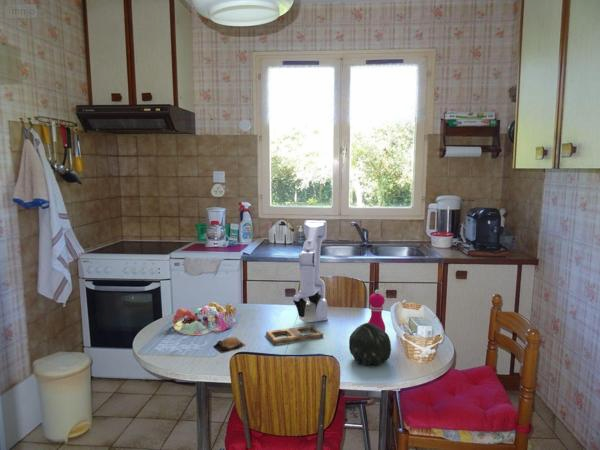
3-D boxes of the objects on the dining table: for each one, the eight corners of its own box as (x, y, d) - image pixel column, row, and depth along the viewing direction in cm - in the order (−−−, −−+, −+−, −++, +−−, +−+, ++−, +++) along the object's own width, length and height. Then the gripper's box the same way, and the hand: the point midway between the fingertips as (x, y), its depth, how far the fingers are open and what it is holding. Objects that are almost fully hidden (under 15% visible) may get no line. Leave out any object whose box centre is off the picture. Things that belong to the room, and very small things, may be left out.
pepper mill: (387, 337, 172) (388, 288, 169) (382, 344, 165) (383, 293, 163) (369, 334, 175) (370, 286, 172) (364, 340, 168) (365, 291, 166)
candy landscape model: (204, 312, 202) (203, 293, 201) (245, 321, 191) (245, 300, 190) (164, 330, 180) (163, 308, 179) (208, 340, 169) (207, 318, 168)
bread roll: (235, 340, 170) (235, 331, 170) (247, 347, 163) (247, 337, 163) (210, 347, 163) (210, 338, 163) (222, 354, 157) (221, 345, 156)
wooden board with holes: (313, 328, 181) (313, 324, 181) (323, 337, 172) (323, 333, 171) (266, 335, 174) (266, 331, 174) (274, 345, 164) (274, 340, 164)
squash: (390, 336, 159) (364, 308, 156) (405, 354, 144) (377, 324, 141) (361, 361, 159) (335, 334, 156) (373, 383, 145) (345, 353, 141)
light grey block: (310, 316, 177) (310, 300, 176) (315, 320, 173) (315, 303, 172) (299, 318, 175) (299, 301, 174) (303, 322, 171) (303, 305, 170)
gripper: (310, 276, 180) (310, 307, 182) (287, 283, 169) (287, 316, 171) (324, 279, 175) (324, 311, 177) (301, 286, 164) (301, 320, 166)
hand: (307, 314), depth 174 cm, fingers closed on light grey block, 7 cm apart
